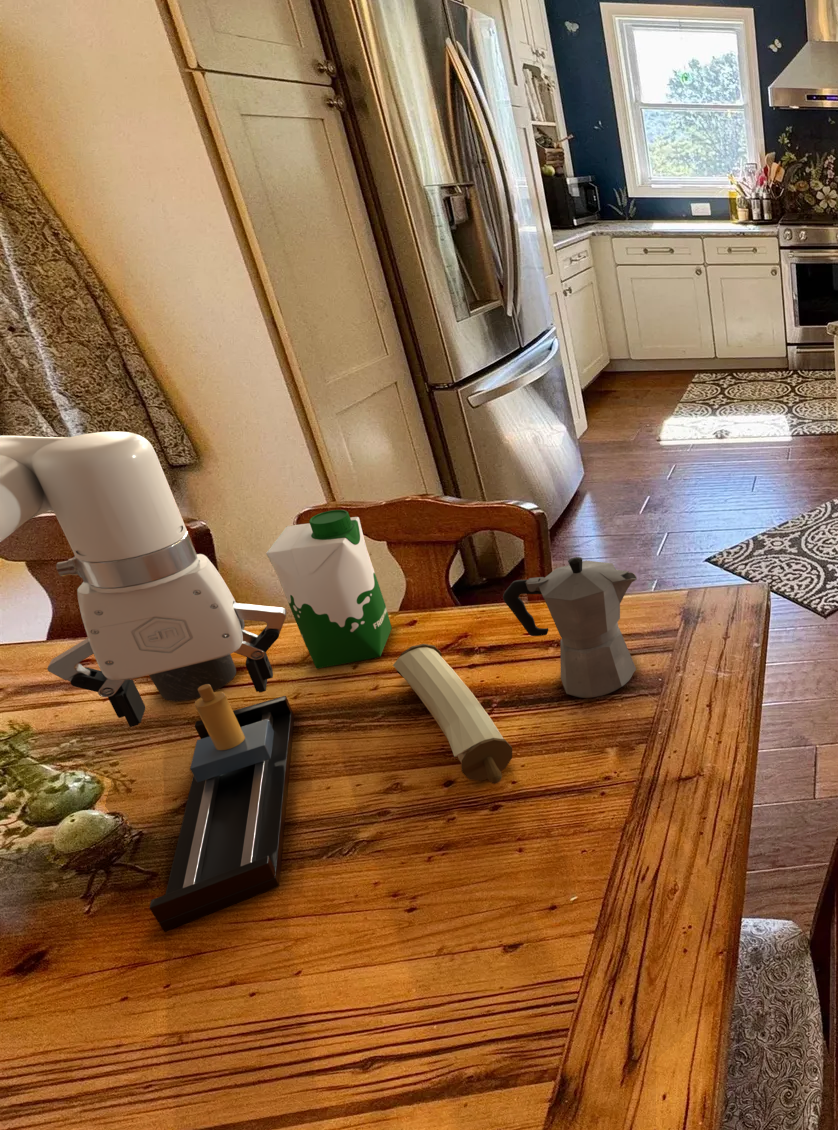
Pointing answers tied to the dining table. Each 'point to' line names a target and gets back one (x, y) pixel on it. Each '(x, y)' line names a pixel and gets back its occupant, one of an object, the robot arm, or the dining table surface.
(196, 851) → the rail
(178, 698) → the travel mug
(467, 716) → the cream curved cylinder
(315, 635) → the milk carton
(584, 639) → the coffeepot
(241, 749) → the sliding carriage
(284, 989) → the dining table surface
